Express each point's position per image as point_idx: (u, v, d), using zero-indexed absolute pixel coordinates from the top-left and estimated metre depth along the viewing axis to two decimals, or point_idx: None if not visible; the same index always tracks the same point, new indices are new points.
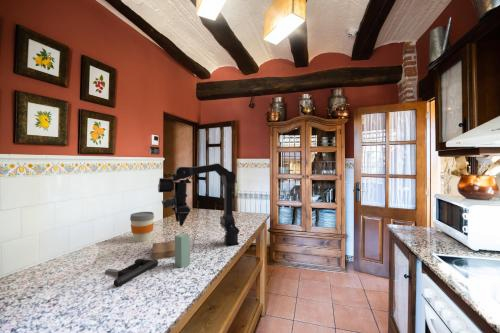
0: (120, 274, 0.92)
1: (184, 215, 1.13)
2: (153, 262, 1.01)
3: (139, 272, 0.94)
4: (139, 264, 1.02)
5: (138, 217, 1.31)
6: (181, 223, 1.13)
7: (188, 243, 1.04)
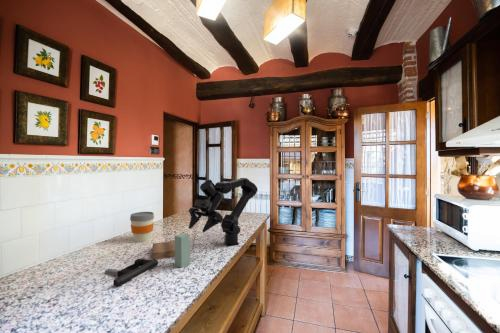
0: (120, 274, 0.92)
1: (212, 223, 1.11)
2: (153, 262, 1.01)
3: (139, 272, 0.94)
4: (139, 264, 1.02)
5: (138, 217, 1.31)
6: (205, 228, 1.08)
7: (188, 243, 1.04)
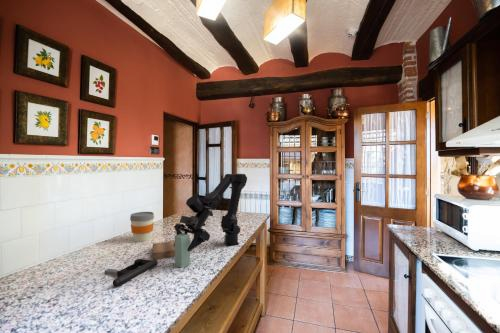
0: (119, 274, 0.92)
1: (198, 242, 1.04)
2: (152, 262, 1.01)
3: (138, 272, 0.93)
4: (138, 264, 1.02)
5: (138, 217, 1.31)
6: (190, 248, 1.01)
7: (188, 243, 1.04)
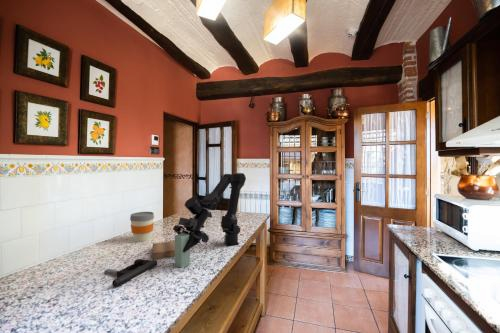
0: (119, 274, 0.92)
1: (193, 243, 1.04)
2: (152, 262, 1.01)
3: (138, 272, 0.93)
4: (138, 264, 1.02)
5: (138, 217, 1.31)
6: (185, 249, 1.02)
7: None
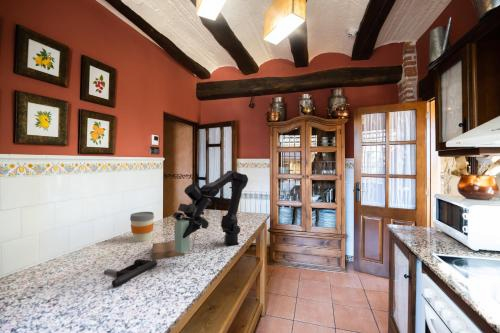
0: (118, 274, 0.92)
1: (193, 228, 1.04)
2: (152, 263, 1.01)
3: (137, 272, 0.93)
4: (138, 264, 1.02)
5: (138, 217, 1.31)
6: (185, 234, 1.02)
7: None
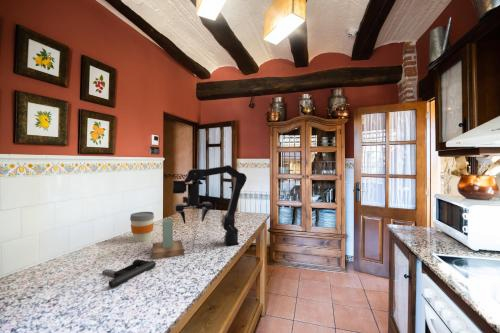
0: (116, 275, 0.91)
1: None
2: (150, 263, 1.00)
3: (135, 273, 0.93)
4: (136, 265, 1.01)
5: (138, 217, 1.31)
6: (183, 221, 1.23)
7: (171, 228, 1.17)
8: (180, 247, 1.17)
